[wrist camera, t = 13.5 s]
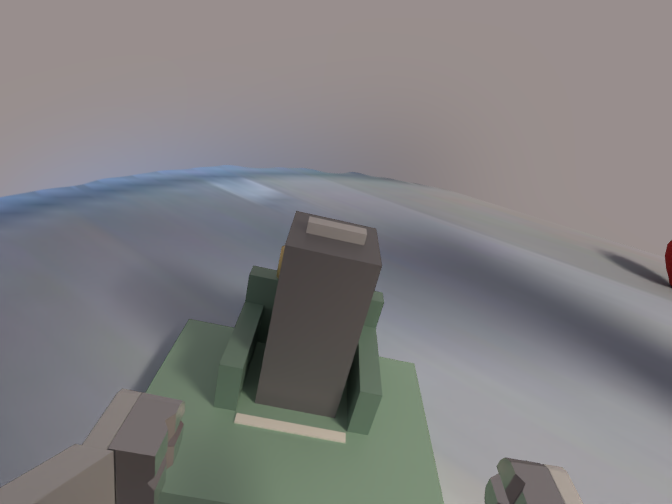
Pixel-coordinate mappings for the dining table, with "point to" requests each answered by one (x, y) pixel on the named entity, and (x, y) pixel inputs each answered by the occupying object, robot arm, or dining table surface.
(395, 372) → the header board
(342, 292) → the plug block
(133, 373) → the dining table surface
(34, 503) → the robot arm
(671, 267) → the strawberry
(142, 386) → the dining table surface
